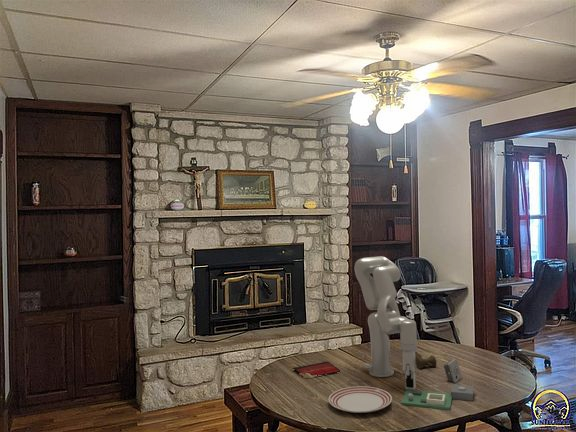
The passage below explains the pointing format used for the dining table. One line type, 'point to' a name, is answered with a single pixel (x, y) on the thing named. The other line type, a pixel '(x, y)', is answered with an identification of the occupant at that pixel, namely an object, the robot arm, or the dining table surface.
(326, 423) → the dining table surface
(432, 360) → the brown bone-shaped piece
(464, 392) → the grey knob block
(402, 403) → the board
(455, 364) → the electrical switch
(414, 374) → the plug
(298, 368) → the binder
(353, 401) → the dinner plate
